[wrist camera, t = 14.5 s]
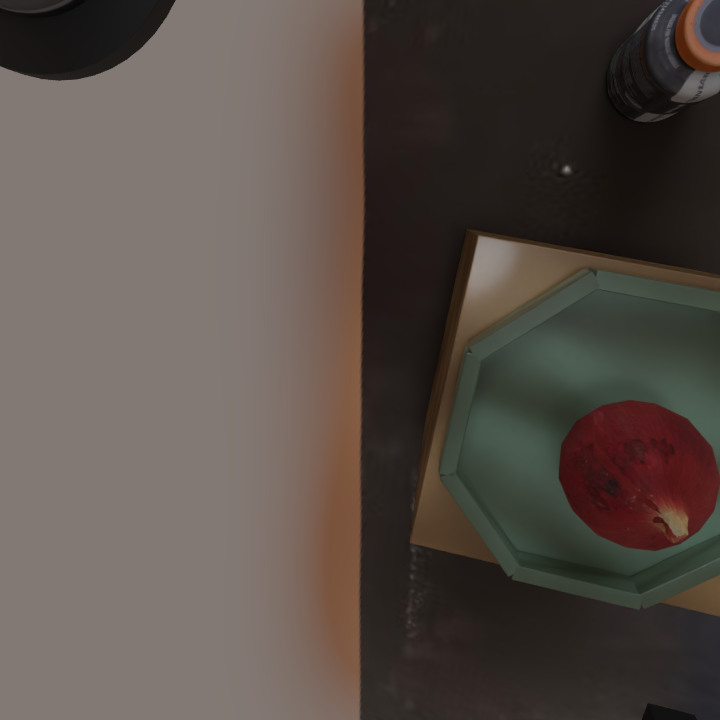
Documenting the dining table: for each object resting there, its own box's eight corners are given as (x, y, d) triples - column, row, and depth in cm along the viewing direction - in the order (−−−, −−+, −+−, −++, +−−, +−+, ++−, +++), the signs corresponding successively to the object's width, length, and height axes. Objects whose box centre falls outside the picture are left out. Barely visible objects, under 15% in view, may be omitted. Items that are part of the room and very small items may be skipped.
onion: (523, 462, 28) (551, 554, 20) (586, 358, 27) (641, 415, 19) (633, 516, 28) (703, 629, 20) (703, 415, 26) (808, 496, 19)
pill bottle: (675, 134, 40) (759, 102, 29) (591, 109, 41) (643, 69, 30) (714, 42, 39) (818, -29, 28) (626, 17, 39) (695, -62, 28)
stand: (466, 228, 44) (480, 235, 25) (686, 268, 42) (885, 309, 23) (423, 426, 48) (407, 564, 29) (623, 469, 46) (746, 646, 27)
